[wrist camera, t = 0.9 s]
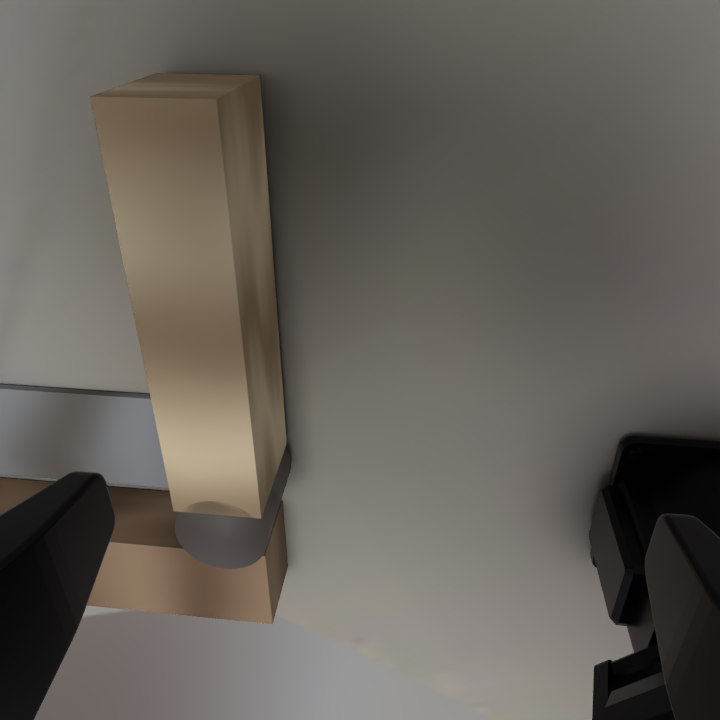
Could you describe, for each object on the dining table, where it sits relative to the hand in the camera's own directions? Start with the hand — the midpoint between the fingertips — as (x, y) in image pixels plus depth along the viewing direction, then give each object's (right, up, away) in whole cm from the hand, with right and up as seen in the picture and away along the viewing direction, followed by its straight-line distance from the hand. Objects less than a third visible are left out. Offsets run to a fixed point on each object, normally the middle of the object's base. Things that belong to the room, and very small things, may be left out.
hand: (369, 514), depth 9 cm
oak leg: (-4, +4, +13) cm, 14 cm away
